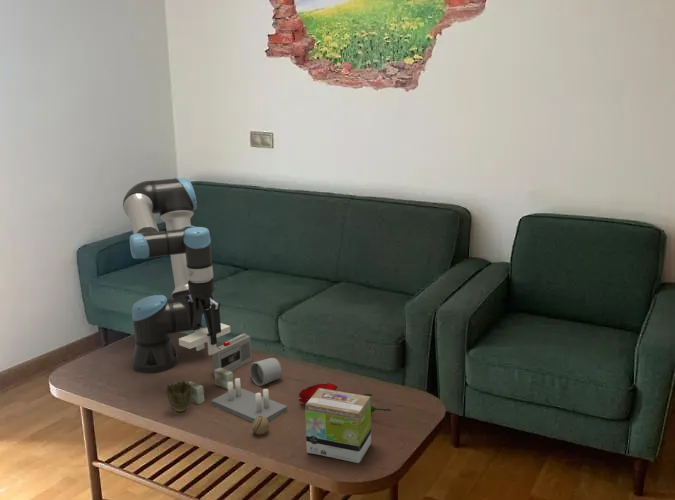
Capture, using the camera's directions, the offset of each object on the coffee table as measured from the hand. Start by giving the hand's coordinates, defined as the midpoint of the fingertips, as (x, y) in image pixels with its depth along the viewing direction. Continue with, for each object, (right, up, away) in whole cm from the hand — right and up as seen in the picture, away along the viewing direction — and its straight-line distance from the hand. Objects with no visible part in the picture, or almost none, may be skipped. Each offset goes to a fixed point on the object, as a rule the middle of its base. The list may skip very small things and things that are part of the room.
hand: (206, 351), depth 214 cm
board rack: (0, -14, +4) cm, 14 cm away
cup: (-6, -17, -7) cm, 19 cm away
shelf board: (0, +4, -1) cm, 4 cm away
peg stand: (+14, -16, -7) cm, 22 cm away
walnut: (+19, -20, -21) cm, 34 cm away
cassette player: (+5, -9, +21) cm, 24 cm away
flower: (+43, -17, -11) cm, 47 cm away
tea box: (+41, -22, -30) cm, 55 cm away
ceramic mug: (+17, -11, +11) cm, 23 cm away
